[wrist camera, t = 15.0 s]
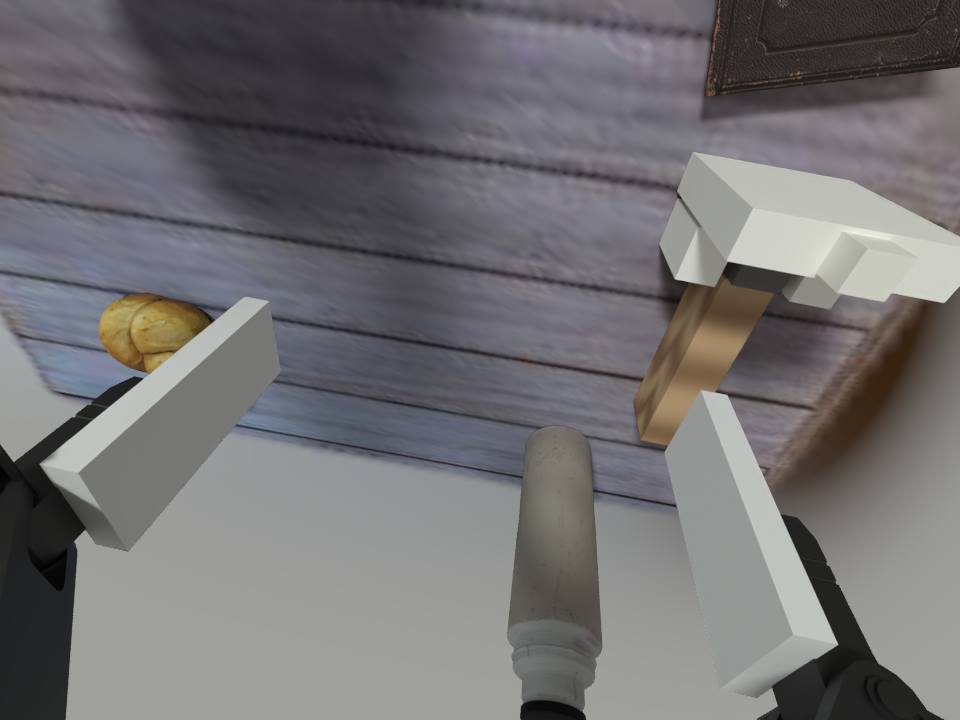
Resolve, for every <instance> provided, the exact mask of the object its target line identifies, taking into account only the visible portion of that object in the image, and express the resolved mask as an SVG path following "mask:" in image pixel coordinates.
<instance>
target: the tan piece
mask: <svg viewBox="0 0 960 720" xmlns="http://www.w3.org/2000/svg"><path fill="white" fill-rule="evenodd" d="M791 275H792V274H791V273H785V272H780V271H775V270H770V269H765V268H759V267H754V266H749V265H744V264H739V263H733V262H727V264H726V266H725V268H724V270H723V272H722V274H721V276H720V278H719V280H718V282H717V284H716V286H715V287H712V286H707V285H702V284H697V283H692V282H689V283H688V286H687V288H686V290H685V292H684V294H683V296H682V298H681V301H680V303H679V305H678V307H677V309H676V311H675V313H674V315H673V318H672V320H671V322H670V324H669V326H668V328H667V330H666V333H665V335H664V337H663V339H662V341H661V343H660V345H659V347H658V350H657V352H656V354H655V356H654V358H653V360H652V362H651V365H650V367H649V369H648V371H647V373H646V375H645V377H644V379H643V382H642V384H641V386H640V388H639V390H638V392H637V394H636V397H635V399H634V406H635V411H636V417H637V422H638V428H639V434H640V439H641V440H643V441H648V442H652V443H657V444H662V445H667V446H668V445H669V444H670V442H671V440H672V438H673V437H674V435H675V433H676V432H677V430H678V428H679V426H680V425H681V423H682V421H683V420H684V418H685V416H686V414H687V413H688V411H689V409H690V407H691V406H692V404H693V402H694V401H695V399H696V397H697V395H698V394H699V392H700V390H704V391H709V392H714V393H715V391H716V389H717V388H718V386H719V385H720V383H721V381H722V380H723V378H724V376H725V375H726V373H727V371H728V370H729V368H730V366H731V365H732V363H733V362H734V360H735V358H736V357H737V355H738V353H739V352H740V350H741V348H742V347H743V345H744V343H745V342H746V340H747V339H748V337H749V335H750V334H751V332H752V330H753V329H754V327H755V325H756V324H757V322H758V320H759V319H760V317H761V316H762V314H763V312H764V311H765V309H766V307H767V306H768V304H769V302H770V301H771V299H772V297H773V296H774V294H780V293H781V291H782V289H783V288H784V286H785V285H786V283H787V281H788V280H789V278H790V276H791Z"/></svg>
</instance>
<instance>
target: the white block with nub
mask: <svg viewBox="0 0 960 720" xmlns="http://www.w3.org/2000/svg"><path fill="white" fill-rule="evenodd" d="M677 192H678V193H679V195H680V196H681V198H682V199H680V198H677V201H676V203H675V206H674V208H673V211H672V213H671V216H670V218H669V221H668V223H667V226H666V228H665V231H664V233H663V236H662V238H661V241H660V243H659V245H660V247H661V249H662V252H663V254H664V256H665V258H666V261H667V263H668V265H669V268H670V270H671V272H672V274H673V277H674V279H676V280H681V281H686V282H692V283H697V284H702V285H707V286H712V287H715V286H716V284H717V282H718V280H719V278H720V276H721V274H722V272H723V270H724V268H725V266H726V264H727V262H733V263H739V264H744V265H749V266H754V267H759V268H765V269H770V270H775V271H780V272H785V273H791V274H792V275H791V276H790V278H789V280H788V281H787V283H786V285H785V286H784V288H783V289H782V291H781V292H782V293H783V295H784V296H785V297H786V298H787V299H788V301H789V302H794V303H799V304H805V305H810V306H815V307H820V308H825V309H831V308H832V306H833V305H834V303H835V302H836V301H837V299H838V298H839V296H840V295H841V294H845V295H850V296H855V297H861V298H866V299H871V300H876V301H881V302H885V301H886V300H887V298H888V297H889V296H890V294H891V293H895V294H900V295H905V296H910V297H916V298H921V299H926V300H931V301H937V302H942V303H945V302H946V301H947V300H948V299H949V297H950V296H951V295H952V294H953V293H954V292H955V290H957V288H958V287H959V286H960V237H959V236H957V235H955V234H953V233H951V232H949V231H947V230H945V229H943V228H941V227H939V226H937V225H935V224H934V223H932V222H930V221H928V220H926V219H924V218H922V217H920V216H918V215H916V214H914V213H912V212H910V211H908V210H906V209H904V208H902V207H901V206H899V205H897V204H895V203H893V202H891V201H889V200H887V199H885V198H883V197H881V196H879V195H877V194H875V193H873V192H871V191H869V190H868V189H866V188H864V187H862V186H860V185H858V184H856V183H854V182H852V181H850V180H844V179H839V178H833V177H828V176H822V175H817V174H811V173H806V172H800V171H795V170H790V169H784V168H779V167H773V166H768V165H762V164H757V163H751V162H746V161H740V160H735V159H729V158H724V157H718V156H713V155H707V154H702V153H696V152H692V155H691V157H690V160H689V162H688V165H687V167H686V170H685V172H684V175H683V177H682V180H681V182H680V185H679V187H678V190H677Z"/></svg>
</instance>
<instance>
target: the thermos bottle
mask: <svg viewBox="0 0 960 720" xmlns="http://www.w3.org/2000/svg"><path fill="white" fill-rule="evenodd" d="M507 633H508V634H507V637H508V640H509V643H510V644H511V645H512V646H513V647H514V652H513V654H512V661H513V669H514V672H515V674H516V675H517V676H518V677H519V678H520V679H521V680H522V700H523V705H522V706H521V713H520V719H521V720H586V717H585V715H584V713H583V709H584V706H585V700H584V699H585V698H584V690H585V689H586V688H588V687H590V686H591V685H592V684H593V683H594V680H595V668H596V660H595V658H596V657H598V656H599V654H600V653H601V651H602V633H601V616H600V599H599V582H598V565H597V548H596V531H595V516H594V500H593V480H592V463H591V449H590V444H589V442H588V440H587V439H586V438H585V437H584V436H583V435H582V434H581V433H579V432H578V431H576V430H574V429H571V428H568V427H563V426H549V427H545V428H542V429H539V430H537V431H536V432H534V433H533V434H532V435H531V436H530V437H529V439H528V440H527V443H526V448H525V458H524V471H523V479H522V489H521V500H520V515H519V524H518V532H517V540H516V550H515V560H514V571H513V582H512V591H511V601H510V611H509V622H508V632H507Z"/></svg>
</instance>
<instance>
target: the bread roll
mask: <svg viewBox="0 0 960 720" xmlns="http://www.w3.org/2000/svg"><path fill="white" fill-rule="evenodd" d="M209 325H211V323H210V321H209V319H208V318H207V317H206V315H205V314H204V313H203V312H202V311H200V310H199V309H198V308H196V307H194V306H192V305H190V304H188V303H185V302H182V301H177V300H171V299H169V298H165V297H163V296H160V295H153V294H150V293H141V294H134V295H126V296H125V297H123V298H122V299H120V300H116V301H115V302H113V303H112V304H111V305H110V306H109V307H108V308H107V309H106V310H105V311H104V313H103V315H102V317H101V320H100V324H99V336H100V339H101V341H102V344H103V345H104V347H105V348H106V350H107V352H108V353H109V354H110V355H111V356H112V357H113V358H115V359H116V360H118V361H119V362H120V363H122V364H123V365H125V366H127V367H129V368H132V369H135V370H138V371H142V372H147V373H148V374H150V373H152V372H153V371H154V370H155V369H157V368H158V367H159V366H160V365H161V364H163V363H164V362H165V361H166V360H168V359H169V358H170V357H171V356H172V355H174V354H175V353H176V352H177V351H179V350H180V349H181V348H182V347H184V346H185V345H186V344H187V343H188V342H190V341H191V340H192V339H193V338H195V337H196V336H197V335H198V334H199V333H201V332H202V331H203V330H204V329H206V328H207V327H208V326H209Z"/></svg>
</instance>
